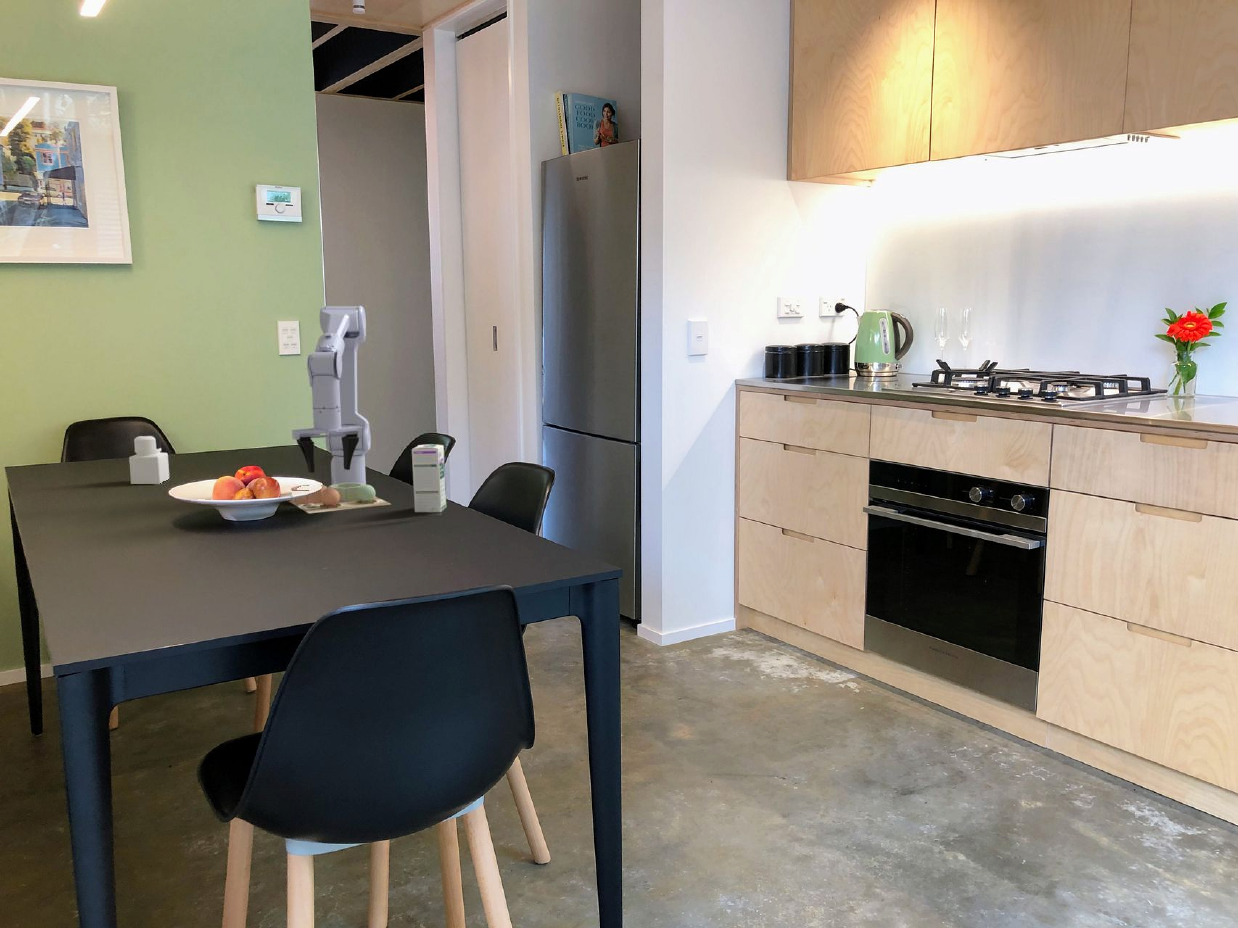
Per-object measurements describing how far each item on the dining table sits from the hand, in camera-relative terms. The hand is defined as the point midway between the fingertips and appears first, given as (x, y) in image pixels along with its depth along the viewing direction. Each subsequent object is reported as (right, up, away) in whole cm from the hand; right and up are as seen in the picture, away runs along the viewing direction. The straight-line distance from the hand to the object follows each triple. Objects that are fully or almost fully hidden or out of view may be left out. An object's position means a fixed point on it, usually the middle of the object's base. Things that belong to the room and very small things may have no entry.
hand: (329, 470), depth 210 cm
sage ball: (+7, -7, +5) cm, 11 cm away
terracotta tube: (-7, -8, +8) cm, 13 cm away
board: (0, -8, +6) cm, 10 cm away
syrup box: (+22, -9, -2) cm, 24 cm away
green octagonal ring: (+1, -7, +10) cm, 13 cm away
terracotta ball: (0, -8, +1) cm, 8 cm away
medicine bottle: (-57, -3, +37) cm, 68 cm away
